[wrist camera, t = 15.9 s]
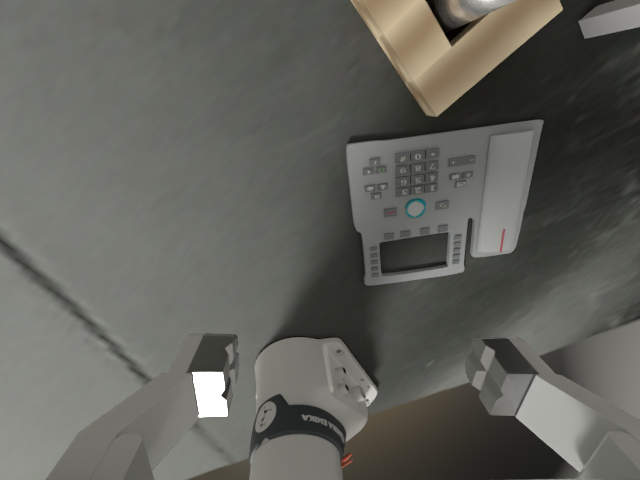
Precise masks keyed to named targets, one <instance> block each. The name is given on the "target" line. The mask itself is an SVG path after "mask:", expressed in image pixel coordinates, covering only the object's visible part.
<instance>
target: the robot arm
mask: <svg viewBox="0 0 640 480" xmlns="http://www.w3.org/2000/svg"><path fill="white" fill-rule="evenodd" d="M237 345H238V339H237V335H236V334H210V333H206V334H201V333H190V334H189V335H188V336H187V337H186V339H185V340H184V342H183V344H182V346H181V348H180V350H179V352H178V354H177V356H176V358H175V359H174V361H173V363H172V365H171V367H170V369H169V371H168V373H162V374H160V375H159V376H158V377H156V378H155V379H153V380H152V381H151V382H149V383H148V384H146V385H145V386H144V387H142V388H141V389H139V390H138V391H137V392H135V393H134V394H132V395H131V396H130V397H128V398H127V399H125V400H124V401H123V402H121V403H120V404H118V405H117V406H115V407H114V408H113V409H111V410H110V411H108V412H107V413H106V414H104V415H103V416H101V417H100V418H99V419H97V420H96V421H94V422H93V423H92V424H90V425H89V426H87V427H86V428H85V429H83V430H82V431H80V432H79V433H78V435H77V436H76V437H75V439H74V440H73V442H72V443H71V444H70V446H69V447H68V449H67V450H66V452H65V453H64V454H63V456H62V457H61V459H60V460H59V461H58V463H57V464H56V466H55V467H54V469H53V470H52V471H51V473H50V474H49V476H48V477H47V479H46V480H154V476H153V473H152V470H153V469H154V468H155V467H156V466H157V465H158V464H159V463H160V461H161V460H162V459H163V458H164V457H165V456H166V455H167V454H168V453H169V451H170V450H171V449H172V448H173V447H174V446H175V445H176V444H177V442H178V441H179V440H180V439H181V438H182V437H183V436H184V435H185V434H186V432H187V431H188V430H189V429H190V428H191V427H192V426H193V425H194V424H195V422H196V421H197V420H198V419H199V417H207V416H228V412H229V408H230V404H231V401H232V397H233V394H232V387H233V386H234V385H235V384H236V381H237V377H238V370H239V354H238V353H237V352H236V349H237ZM471 348H472V350H473V352H471V353H470V354H469V355H468V356H467V359H466V362H465V368H466V374H467V377H468V379H469V381H470V382H471V384H472V385H473V386H474V387H476V388H477V389H479V390H480V392H479V398H480V399H481V401H482V403H483V404H484V406H485V408H486V409H487V411H488V413H489V414H490V415H508V416H509V415H510V416H516V418H517V419H518V420H520V421H521V422H522V423H523V424H524V425H525V426H527V427H528V428H529V429H530V430H531V431H532V432H533V433H535V434H536V435H537V436H538V437H539V438H541V439H542V440H543V441H544V442H545V443H546V444H547V445H549V446H550V447H551V448H552V449H553V450H555V451H556V452H557V453H558V454H559V455H560V456H562V457H563V458H564V459H565V460H566V461H567V462H568V463H569V464H571V465H572V466H573V467H574V468H575V469H576V470H578V471H579V472H580V473H579V474H578V476H577V477H576V479H532V480H640V419H638V418H636V417H635V416H633V415H631V414H629V413H627V412H625V411H624V410H622V409H620V408H619V407H617V406H615V405H613V404H611V403H609V402H608V401H606V400H604V399H603V398H601V397H599V396H597V395H595V394H594V393H592V392H590V391H588V390H586V389H585V388H583V387H581V386H579V385H578V384H576V383H574V382H572V381H571V380H569V379H567V378H565V377H563V376H562V375H556V374H555V373H554V372H553V371H552V370H551V369H550V368H549V367H548V366H547V365H546V363H545V362H544V361H543V360H542V359H541V358H540V357H539V356H538V355H537V354H536V353H535V352H534V351H533V350H532V349H531V347H530V346H529V345H528V344H527V343H526V342H525V341H524V340H523V339H521V338H519V337H504V338H490V337H476V338H475V339H474V340H473V341H472V344H471ZM338 349H340V350H338ZM255 377H256V399H257V408H256V419H255V422H254V426H253V431H252V437H251V445H250V452H249V463H250V466H251V471H250V479H249V480H342V471H341V468H342V467H344V466H345V465H347V464H349V463H351V462H352V460H349V461H347V462H345V461H346V460H347V459H348V458H349V457H350V456H351V453H348V454H347V455H345V456H343V454H344V448H345V442H347V441H348V440H349V439H350V438H352V437H353V436H354V435H355V434H357V433H358V432H359V431H360V430H361V429H362V428H363V427H364V425H365V423H366V421H367V418H368V411H367V406H368V405H370V403H371V402H372V401H373V400H374V399H375V397H376V395H377V387H376V385H375V384H374V383H373V381H372V380H371V379H370V377H369V376H368V375H367V373H366V372H365V371H364V369H363V368H362V367H361V365H360V364H359V363H358V361H357V360H356V359H355V357H354V356H353V355H352V353H351V352H350V351H349V349H348V348H347V347H346V345H345V344H344V343H343V341H342V340H341V339H339V338H326V339H312V338H305V337H294V338H287V339H283V340H280V341H277V342H275V343H273V344H271V345H269V346H268V347H267V348H265V349H264V350H263V351H262V352H261V353H260V355H259V356H258V358H257V360H256V363H255ZM529 480H531V479H529Z"/></svg>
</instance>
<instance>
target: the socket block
mask: <svg viewBox="0 0 640 480" xmlns="http://www.w3.org/2000/svg"><path fill="white" fill-rule="evenodd" d="M351 2H352V3H353V5H354V6H355V8H356V9H357V11H358V13H359V14H360V16H361V17H362V19H363V20H364V22H365V23H366V25H367V26H368V28H369V29H370V31H371V32H372V34H373V35H374V37H375V38H376V40H377V41H378V43H379V44H380V46H381V48H382V49H383V51H384V52H385V54H386V55H387V57H388V58H389V60H390V61H391V63H392V64H393V66H394V67H395V69H396V70H397V72H398V73H399V75H400V76H401V78H402V79H403V81H404V83H405V84H406V86H407V87H408V89H409V90H410V92H411V93H412V95H413V96H414V98H415V99H416V101H417V102H418V104H419V105H420V107H421V108H422V110H423V111H424V113H425V114H426V115H427V116H435V117H437V116H438V115H440V114H441V113H442V112H443V111H444V110H445V109H447V108H448V107H449V106H450V105H451V104H453V103H454V102H455V101H456V100H457V99H458V98H460V97H461V96H462V95H463V94H464V93H466V92H467V91H468V90H469V89H470V88H471V87H473V86H474V85H475V84H476V83H477V82H478V81H480V80H481V79H482V78H483V77H484V76H486V75H487V74H488V73H489V72H490V71H491V70H493V69H494V68H495V67H496V66H497V65H499V64H500V63H501V62H502V61H503V60H504V59H506V58H507V57H508V56H509V55H510V54H511V53H513V52H514V51H515V50H516V49H517V48H519V47H520V46H521V45H522V44H523V43H524V42H526V41H527V40H528V39H529V38H530V37H532V36H533V35H534V34H535V33H536V32H537V31H539V30H540V29H541V28H542V27H543V26H544V25H546V24H547V23H548V22H549V21H550V20H552V19H553V18H554V17H555V16H556V15H557V14H559V13H560V12H561V11H562V10H563V8H562V6H561V3H560V1H559V0H516V1H514V2H512V3H510V4H508V5H505V6H503V7H501V8H499V9H497V10H495V11H492V12H490V13H488V14H486V15H484V16H482V17H480V18H477V19H475V20H473V21H472V22H471V23H470V24H469V25H468V26H466V27H465V28H464V29H463V30H462V31H461V32H460V33H459V34H458V35H457V36H456V37H454V38H453V39H452V40H451V41H450V42H449V41H448V40H447V38H446V36H445V34H444V32H443V31H442V29H441V27H440V25H439V24H438V22H437V20H436V18H435V17H434V15H433V13H432V11H431V9H430V8H429V6H428V4H427V2H426V1H425V0H351Z"/></svg>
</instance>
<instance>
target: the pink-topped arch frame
mask: <svg viewBox="0 0 640 480" xmlns="http://www.w3.org/2000/svg"><path fill="white" fill-rule="evenodd" d="M578 22H579V25H580V28H581V30H582V33H583V35H584V38H585V39H586V38H591V37H595V36H600V35H605V34H609V33H614V32H618V31H623V30H628V29H632V28H637V27H640V0H614V1H611V2H608V3H604V4H601V5H598V6H596V7H595V8H594V9H593V10H591V11H590V12H589V13H588V14H587V15H585V16H584V17H583V18H582V19H581V20H579V21H578Z"/></svg>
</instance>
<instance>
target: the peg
mask: <svg viewBox="0 0 640 480" xmlns="http://www.w3.org/2000/svg"><path fill="white" fill-rule="evenodd" d="M514 1H516V0H429V3H428V6H429V8H430V9H431V11H432V13H433V15H434V17H435V18H436V20H437V22H438V24H439V25H440V27H441V29H442V31H443V32H444V33H445V32H449V31H452V30H454V29H456V28H458V27H460V26H462V25H464V24H467V23H469V22H471V21H473V20H475V19H477V18H480V17H482V16H484V15H486V14H488V13H490V12H492V11H495V10H497V9H499V8H501V7H503V6H505V5H508V4H510V3H512V2H514Z"/></svg>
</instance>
